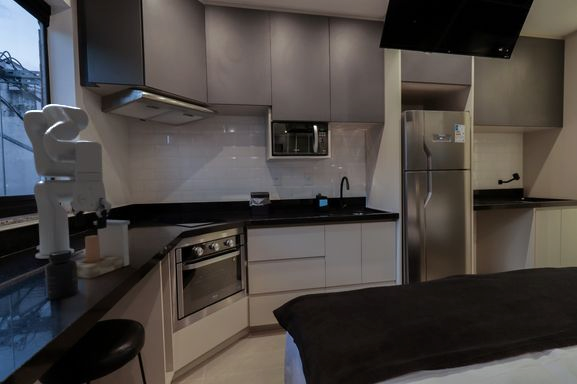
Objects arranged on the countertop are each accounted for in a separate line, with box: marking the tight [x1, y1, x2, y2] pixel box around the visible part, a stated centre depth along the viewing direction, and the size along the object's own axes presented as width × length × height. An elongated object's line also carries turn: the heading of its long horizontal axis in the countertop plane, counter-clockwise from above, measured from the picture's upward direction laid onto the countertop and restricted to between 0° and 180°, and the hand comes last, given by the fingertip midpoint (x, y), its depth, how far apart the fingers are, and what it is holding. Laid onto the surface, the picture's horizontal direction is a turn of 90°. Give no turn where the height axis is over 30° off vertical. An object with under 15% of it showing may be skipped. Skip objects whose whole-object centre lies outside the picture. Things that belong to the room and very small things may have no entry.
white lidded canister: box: [93, 219, 131, 267], centre depth 105 cm, size 12×4×16 cm, turn 74°
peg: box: [84, 235, 100, 264], centre depth 98 cm, size 4×4×12 cm
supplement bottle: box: [44, 250, 80, 301], centre depth 77 cm, size 7×7×12 cm
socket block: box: [75, 255, 123, 279], centre depth 98 cm, size 12×12×4 cm
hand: (91, 227), depth 98 cm, fingers open, 9 cm apart
